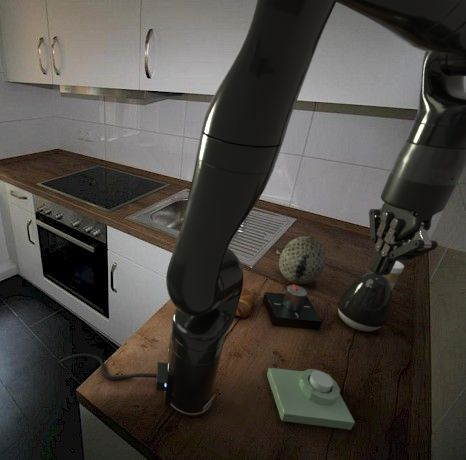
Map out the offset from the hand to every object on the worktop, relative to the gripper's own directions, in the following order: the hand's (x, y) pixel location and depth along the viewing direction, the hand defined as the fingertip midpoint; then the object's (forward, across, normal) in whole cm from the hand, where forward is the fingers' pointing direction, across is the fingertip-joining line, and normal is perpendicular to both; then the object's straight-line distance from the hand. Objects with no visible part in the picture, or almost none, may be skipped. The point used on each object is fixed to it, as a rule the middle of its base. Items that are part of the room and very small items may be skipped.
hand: (378, 272), depth 54 cm
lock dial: (+24, +19, +2) cm, 31 cm away
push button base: (+27, -6, +7) cm, 29 cm away
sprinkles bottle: (+27, +27, -23) cm, 45 cm away
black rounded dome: (+27, +18, -14) cm, 35 cm away
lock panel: (+27, +19, +2) cm, 33 cm away
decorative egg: (+27, +35, -5) cm, 45 cm away
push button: (+23, -5, +5) cm, 24 cm away
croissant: (+27, +21, +16) cm, 38 cm away
